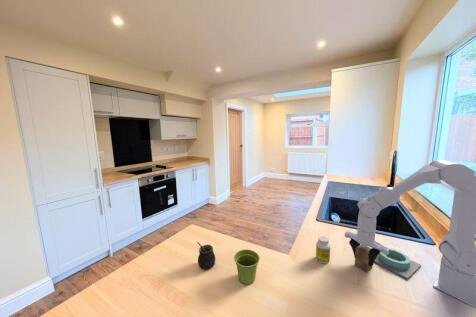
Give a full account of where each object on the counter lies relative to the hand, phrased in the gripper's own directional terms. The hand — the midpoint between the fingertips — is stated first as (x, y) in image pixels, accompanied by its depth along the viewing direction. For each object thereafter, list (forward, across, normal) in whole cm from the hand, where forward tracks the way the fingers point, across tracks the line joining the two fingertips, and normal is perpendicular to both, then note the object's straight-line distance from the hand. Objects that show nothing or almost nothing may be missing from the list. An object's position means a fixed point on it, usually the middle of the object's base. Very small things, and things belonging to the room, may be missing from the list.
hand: (363, 261), depth 72 cm
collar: (+2, -6, -13) cm, 14 cm away
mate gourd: (+3, +36, +52) cm, 63 cm away
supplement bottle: (+3, +12, +9) cm, 15 cm away
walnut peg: (+2, 0, 0) cm, 2 cm away
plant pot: (+3, +22, +42) cm, 47 cm away
